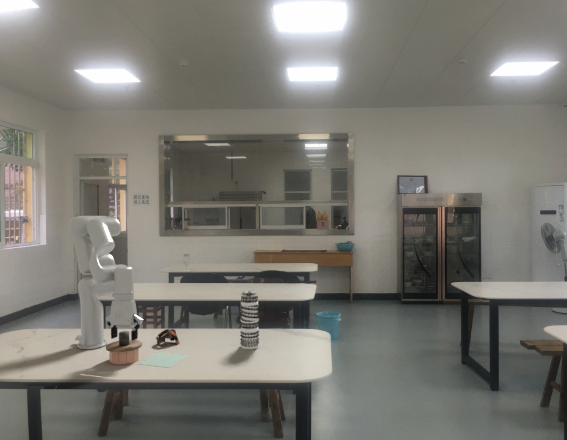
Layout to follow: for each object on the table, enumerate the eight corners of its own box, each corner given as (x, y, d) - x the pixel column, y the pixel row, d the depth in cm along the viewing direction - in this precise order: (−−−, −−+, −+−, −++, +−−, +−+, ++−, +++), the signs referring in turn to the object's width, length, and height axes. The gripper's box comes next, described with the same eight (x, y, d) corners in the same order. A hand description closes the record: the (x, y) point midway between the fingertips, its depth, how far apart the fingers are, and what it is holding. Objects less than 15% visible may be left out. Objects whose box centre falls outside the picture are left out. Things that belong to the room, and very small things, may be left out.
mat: (136, 365, 172) (136, 363, 172) (157, 353, 186) (157, 352, 186) (169, 368, 167) (169, 367, 167) (188, 356, 182) (188, 355, 182)
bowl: (104, 364, 173) (103, 349, 173) (121, 355, 183) (121, 341, 183) (127, 367, 169) (127, 351, 169) (144, 358, 180) (144, 343, 180)
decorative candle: (247, 350, 189) (247, 294, 189) (235, 346, 196) (235, 291, 196) (264, 346, 195) (263, 291, 195) (251, 342, 202) (251, 288, 202)
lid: (98, 350, 172) (97, 335, 171) (120, 340, 185) (120, 327, 185) (128, 353, 168) (127, 338, 167) (149, 343, 181) (149, 329, 181)
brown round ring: (178, 349, 194) (168, 334, 192) (160, 357, 195) (150, 342, 194) (185, 335, 205) (175, 321, 204) (168, 342, 207) (159, 329, 205)
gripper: (99, 297, 175) (100, 339, 175) (136, 299, 170) (136, 343, 170) (112, 294, 182) (112, 334, 182) (147, 296, 177) (148, 337, 177)
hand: (124, 338), depth 176 cm, fingers open, 9 cm apart
